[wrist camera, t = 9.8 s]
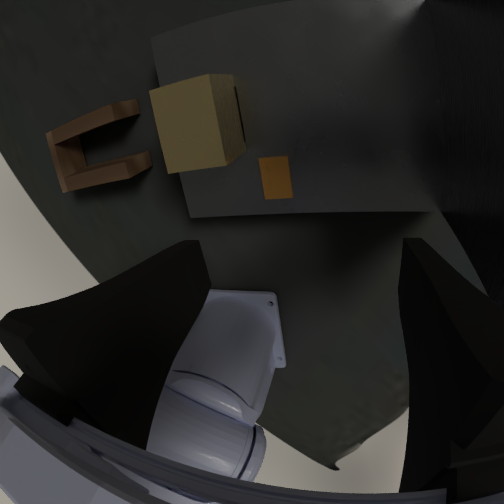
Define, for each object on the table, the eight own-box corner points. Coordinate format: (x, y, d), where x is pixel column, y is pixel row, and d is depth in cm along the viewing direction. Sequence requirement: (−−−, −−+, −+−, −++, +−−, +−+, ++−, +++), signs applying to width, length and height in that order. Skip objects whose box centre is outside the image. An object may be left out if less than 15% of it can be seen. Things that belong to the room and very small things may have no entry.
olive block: (258, 141, 19) (226, 165, 14) (213, 147, 20) (168, 173, 15) (247, 75, 17) (208, 73, 12) (200, 85, 18) (149, 90, 13)
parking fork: (152, 165, 22) (129, 178, 19) (85, 180, 24) (62, 192, 22) (136, 98, 19) (110, 103, 17) (70, 125, 22) (45, 133, 19)
